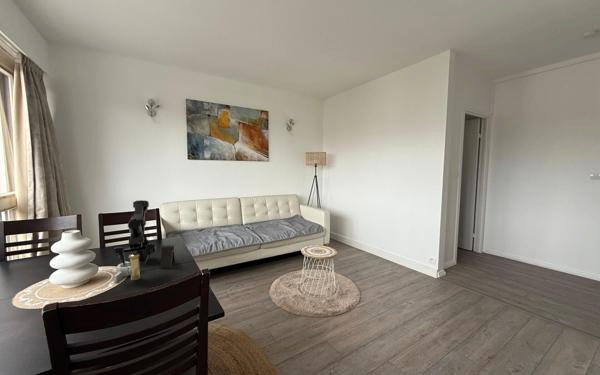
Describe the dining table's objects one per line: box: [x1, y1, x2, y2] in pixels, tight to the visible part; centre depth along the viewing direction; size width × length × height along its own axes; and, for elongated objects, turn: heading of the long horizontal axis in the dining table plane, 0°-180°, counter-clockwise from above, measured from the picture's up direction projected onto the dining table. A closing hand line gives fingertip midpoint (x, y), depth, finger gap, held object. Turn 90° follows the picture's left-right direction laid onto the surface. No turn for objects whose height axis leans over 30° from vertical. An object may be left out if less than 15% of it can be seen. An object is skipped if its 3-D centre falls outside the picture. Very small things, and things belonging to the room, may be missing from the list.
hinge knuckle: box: [113, 260, 131, 283], centre depth 137 cm, size 20×8×4 cm, turn 21°
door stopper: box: [159, 244, 177, 269], centre depth 148 cm, size 9×6×12 cm, turn 8°
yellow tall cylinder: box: [128, 252, 141, 281], centre depth 131 cm, size 5×5×13 cm
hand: (134, 264), depth 130 cm, fingers open, 9 cm apart
